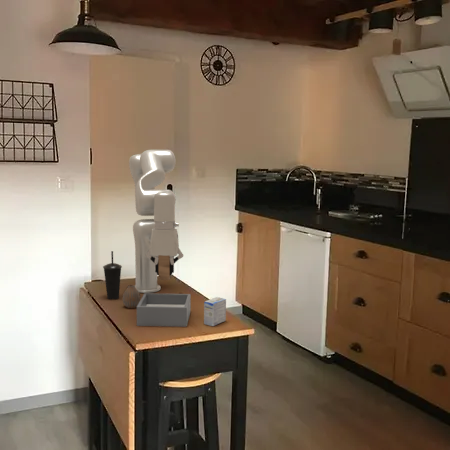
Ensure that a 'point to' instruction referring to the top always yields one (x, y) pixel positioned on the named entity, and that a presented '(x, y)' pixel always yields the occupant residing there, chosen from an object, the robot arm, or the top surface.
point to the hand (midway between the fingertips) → (164, 274)
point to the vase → (131, 297)
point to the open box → (164, 310)
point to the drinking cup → (112, 279)
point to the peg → (164, 267)
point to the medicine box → (214, 311)
